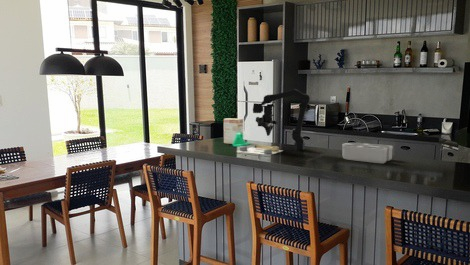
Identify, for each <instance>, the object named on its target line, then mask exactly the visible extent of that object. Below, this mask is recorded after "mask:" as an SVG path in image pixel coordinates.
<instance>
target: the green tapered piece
mask: <svg viewBox="0 0 470 265" xmlns="http://www.w3.org/2000/svg"><path fill="white" fill-rule="evenodd" d="M248 145H251V143H250V142H247V141H246V142H245V139H244V133H243V134H242V133H237V134H236V137H235V139H234V142H233V144H232V147H236V148H238V147H239V148H240V147H241V146H248Z"/></svg>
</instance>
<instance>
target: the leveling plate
mask: <svg viewBox="0 0 470 265" xmlns="http://www.w3.org/2000/svg"><path fill="white" fill-rule="evenodd" d="M281 152H283V149H282V150H280V149H279V151H272V149H259V148H255V147H248V145H244V146H240V147H239V150H236V152H235V154H236V155H237V154H238V155H242V153H244V155H246V156H247V155H249V156H252V154H253V156H255V157H261V155H263V157H264V158H270V156H271V155H274V154H277V153H281ZM267 155H268V156H267Z"/></svg>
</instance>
